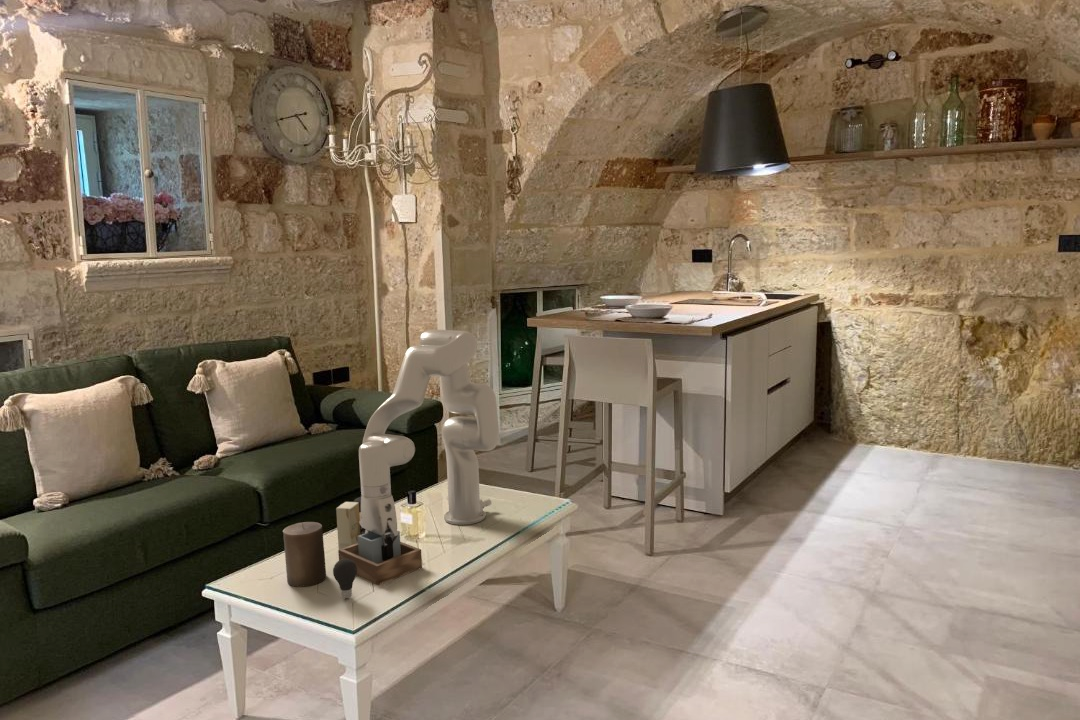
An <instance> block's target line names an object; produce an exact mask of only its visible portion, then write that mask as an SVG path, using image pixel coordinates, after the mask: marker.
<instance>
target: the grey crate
mask: <svg viewBox="0 0 1080 720" xmlns="http://www.w3.org/2000/svg"><path fill="white" fill-rule="evenodd" d="M386 532H387V530H386V531H385V533H386ZM397 532H398V536H397V537H396V539H395V541H394V543H393V555H394V556H393V558H395V557H398V556H401V546H400V542H401V532H400V531H399V530H397ZM385 538H386V540H387V538H388V535H385ZM382 545H383V543H382V538H381V536H380V535H379V534H376V533H374V532H369V533H365V534H362V535H359V536H358V550H359V556H360V557H362V558H365V559H367V560H370V561H372V562H374V563H377V564H379V563H382V562H385V561H387V560H385V561H384V560H382ZM393 558H390V559H393ZM390 559H388V560H390Z"/></svg>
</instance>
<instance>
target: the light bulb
mask: <svg viewBox="0 0 1080 720" xmlns="http://www.w3.org/2000/svg"><path fill="white" fill-rule="evenodd" d="M332 574H333V575H332V576H333V577H334V579H335V581H336V582H337V584H338V585H339V589H340V591H341V592H340V594H341V598H343V599H344V600H345V601H346V600H349V598H351V597H352V595H353V592H352V591H353V590H352V588H353V585H354V581H355V579H356V577H357V576H356V574H357V567H356V564H355V563H354V562H353V561H352V560H350V559H341V560H339V559H338V561H337V562H336V563H335V564H334V565H333V569H332Z"/></svg>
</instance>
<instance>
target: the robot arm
mask: <svg viewBox="0 0 1080 720" xmlns="http://www.w3.org/2000/svg"><path fill="white" fill-rule="evenodd" d="M477 342H478V341H477V339H476V336H475V335H474V334H473V333H472V332H470V331H468V330H467V331H466V330H452V329H451V330H449V329H429V330H425V331H423V332H422V333H421V334H420V336H419V344H416V345H412V346H410V347H409V348H408V349H407V350H406V351H405V354H404V357H403V359H402V362H401V365H400V369H399V372H398V376H397V379H396V382H395V384H394V388H393V392H392V394H391V395H390V396H389V397H388V398H387V399H386V400H385V401H384V402H383V403H382V404H381V405H380V406H379V407H378V408H377V409H376V410H375V411H374V413H373V414H372V415H371V416H370V418H369V420H368V422H367V425H366V427H365V428H366V429H365V431H364V435H363V438H362V444H360V446H359V448H358V460H359V463H358V464H359V477H360V492H361V493H360V494H361V495H360V497H361V520H360V521H359V523H360V525H361V527H362V530H363V532H364V534H365V533H369V532H374V533H376V534H379V535H380V536H381V538H382V543H383V545H382V560H384V561H385V560H388V559H390V558H393V556H394V555H393V543H394V541H395V539H396V537H397V536H398V532H397V531H398V520H397V518H398V517H397V511H396V505H395V501H394V500H395V499H394V498H393V495H392V489H391V488H392V487H391V473H390V472H391V470H390V469H391V467H395V466H400V465H405V464H407V463H409V462H410V461H411V460H412V459H413V457H414V456H415V452H416V447H415V442H413V441H412V439H410V438H408V437H406V436H404V435H395V434H390V433H389V434H388V433H386V431H387V429H388V427H389V425H390V424H391V423H392V422H393V421H394V420H395V419H396V418H398V417H399V416H401V415H404V414H407V413H408V412H410V411H413V410H415V409H418V408H419V407H420V406H422V404H423V402H424V400H425V397H426V393H427V389H428V386H429V383H430V380H431V377H437V378H438V377H439V378H440V381H441V390H442V399H443V404H444V408H445V409H446V411H448V412H449V413H452V414H455V415H456V416H452V417H449V418H447V419H446V420H445V421H444V423H443V425H442V427H441V437H442V442H443V446H444V449H445V458H446V474H447V477H446V478H447V493H448V496H447V497H448V499H447V500H448V511H447V512H445V514H444V515H443V518H444V519H443V520H444V521H445V522H446V523H448V524H452V525H459V526H460V525H462V526H465V525H473V524H478V523H479V522H482V521H483V520H485V518H486V516H487V515H486V512H485V510H484V508H485V507H488V506H491V505H492V500H491V499H490V498H488V499H485V500H482V499H481V496H480V493H481V492H480V475H479V473H480V470H479V460H478V456H477V454H476V452H475V451H479V452H480V451H482V452H489V451H492V450H494V449H495V448H496V447H497V445H498V442H499V438H500V428H499V427H500V426H499V414H498V407H497V405H498V404H497V397H496V393H495V391H494V389H493V388H492V387H491V386H490V385H488V384H485V383H478V382H472V380H471V376H470V375H471V374H470V369H469V364H468V363H469V362H470V361H471V360H472V358H473V357H474V356H475V354H476V352H477V349H478V343H477ZM457 415H459V416H457ZM460 415H465V416H460ZM467 415H468V416H467ZM469 416H470V417H469ZM471 416H474V417H471ZM386 530H387V532H386V533H385V531H386ZM385 535H388V538H387V540H386V538H385Z"/></svg>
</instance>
